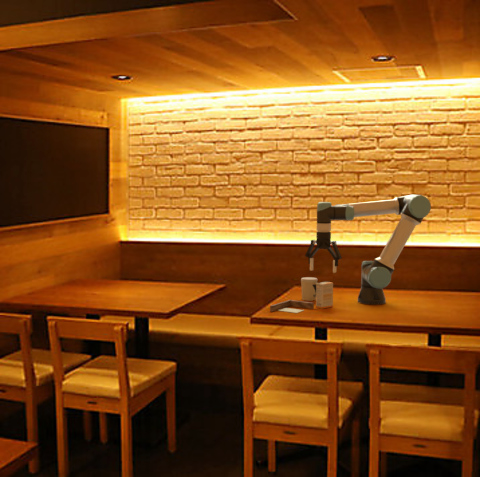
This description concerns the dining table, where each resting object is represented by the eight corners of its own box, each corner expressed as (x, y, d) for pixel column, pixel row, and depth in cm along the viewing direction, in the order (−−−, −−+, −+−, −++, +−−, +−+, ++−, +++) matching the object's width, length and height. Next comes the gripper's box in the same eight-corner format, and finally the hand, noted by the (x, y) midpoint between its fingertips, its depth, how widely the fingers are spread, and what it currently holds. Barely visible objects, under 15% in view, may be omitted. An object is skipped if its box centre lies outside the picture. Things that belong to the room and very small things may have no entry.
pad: (304, 310, 352) (304, 310, 352) (296, 313, 345) (296, 312, 345) (285, 308, 358) (285, 307, 358) (277, 310, 351) (277, 310, 351)
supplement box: (326, 305, 367) (326, 281, 365) (332, 306, 363) (333, 282, 362) (315, 307, 361) (315, 282, 360) (321, 308, 358) (322, 284, 356)
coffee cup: (316, 301, 378) (316, 279, 377) (299, 300, 380) (300, 279, 379) (318, 298, 388) (318, 277, 386) (301, 297, 389) (301, 276, 388)
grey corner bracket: (313, 308, 358) (313, 302, 358) (294, 314, 341) (294, 308, 341) (289, 305, 366) (289, 299, 366) (270, 311, 349) (270, 305, 349)
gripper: (348, 232, 356) (347, 272, 358) (306, 229, 370) (305, 268, 372) (342, 233, 350) (341, 274, 352) (299, 230, 364) (298, 270, 365)
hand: (323, 271), depth 362 cm, fingers open, 13 cm apart
